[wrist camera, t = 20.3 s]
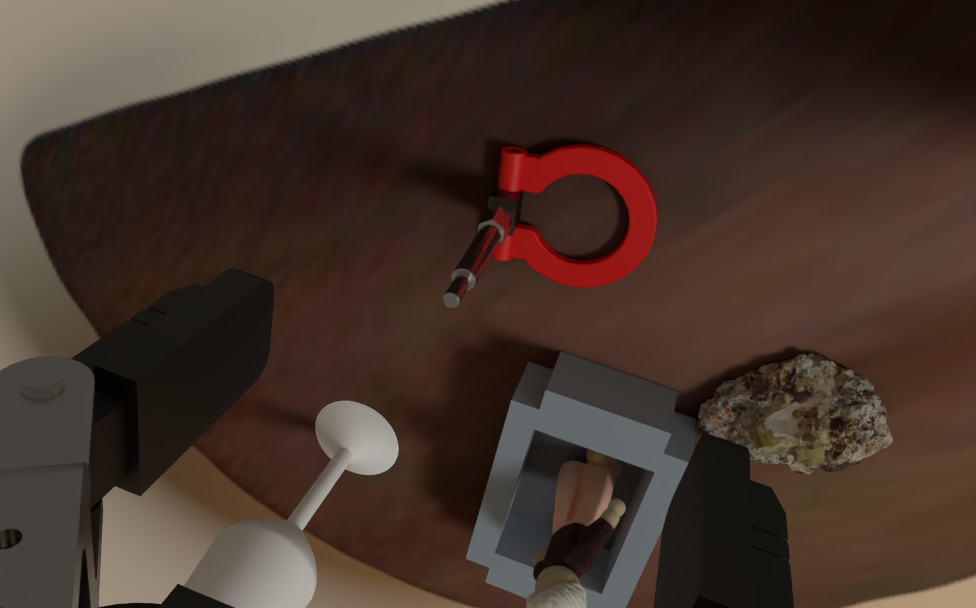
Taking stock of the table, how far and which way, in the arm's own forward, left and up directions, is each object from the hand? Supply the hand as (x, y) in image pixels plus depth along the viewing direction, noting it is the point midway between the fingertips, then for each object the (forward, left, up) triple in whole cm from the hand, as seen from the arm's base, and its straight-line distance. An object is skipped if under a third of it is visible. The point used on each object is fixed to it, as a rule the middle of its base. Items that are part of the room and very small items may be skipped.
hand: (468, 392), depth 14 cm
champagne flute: (+12, +30, -30) cm, 45 cm away
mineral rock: (-14, +16, -31) cm, 37 cm away
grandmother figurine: (-4, +26, -30) cm, 40 cm away
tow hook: (+1, +8, -30) cm, 32 cm away
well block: (-4, +26, -30) cm, 40 cm away
